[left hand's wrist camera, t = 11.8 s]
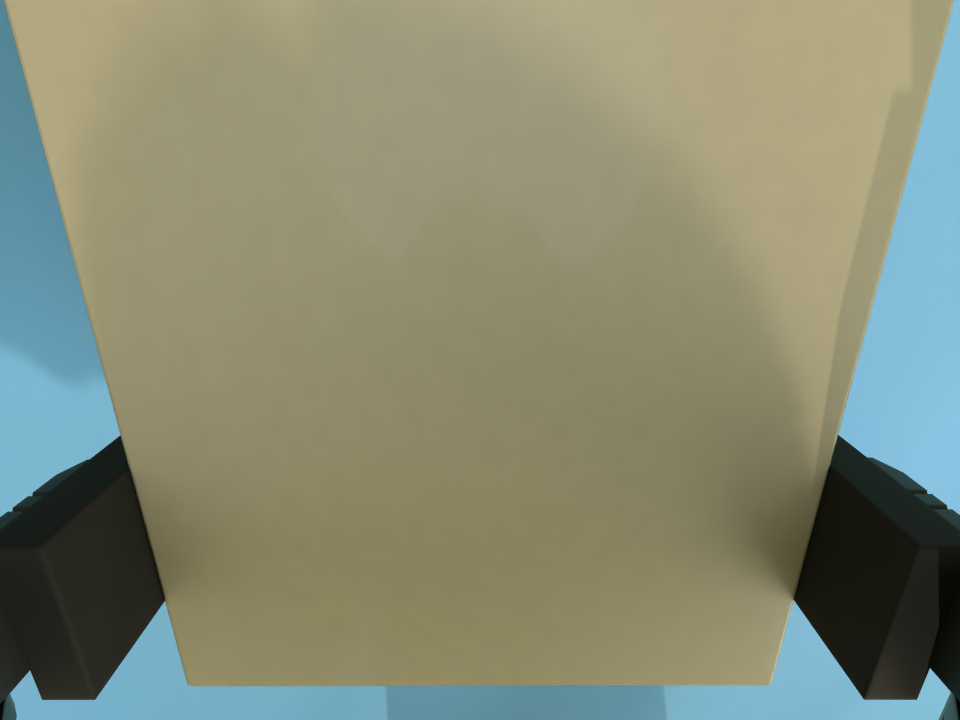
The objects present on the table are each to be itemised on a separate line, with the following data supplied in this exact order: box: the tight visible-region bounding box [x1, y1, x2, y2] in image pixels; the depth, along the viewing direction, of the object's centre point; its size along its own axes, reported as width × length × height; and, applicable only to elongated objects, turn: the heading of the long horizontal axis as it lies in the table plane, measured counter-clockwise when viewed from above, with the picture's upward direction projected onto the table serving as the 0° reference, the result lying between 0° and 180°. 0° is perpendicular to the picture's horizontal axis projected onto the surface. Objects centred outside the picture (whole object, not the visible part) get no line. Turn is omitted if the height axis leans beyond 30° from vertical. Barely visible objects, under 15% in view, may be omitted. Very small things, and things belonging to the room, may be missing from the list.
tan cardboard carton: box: [4, 0, 954, 686], centre depth 11 cm, size 20×11×10 cm, turn 0°
